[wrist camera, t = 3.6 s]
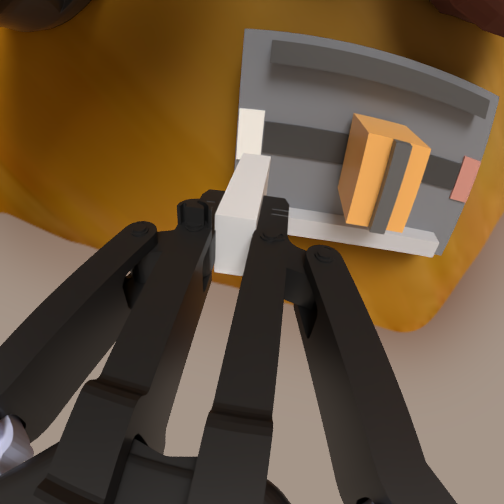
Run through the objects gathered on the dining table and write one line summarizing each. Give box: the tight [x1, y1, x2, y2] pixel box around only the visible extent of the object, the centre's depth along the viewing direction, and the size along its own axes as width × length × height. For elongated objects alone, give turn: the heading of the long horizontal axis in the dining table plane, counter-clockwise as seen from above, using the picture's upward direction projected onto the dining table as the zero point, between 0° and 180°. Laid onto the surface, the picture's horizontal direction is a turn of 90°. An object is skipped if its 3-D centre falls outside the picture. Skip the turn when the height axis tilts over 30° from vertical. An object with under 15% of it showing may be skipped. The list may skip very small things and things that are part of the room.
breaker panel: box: [234, 29, 499, 257], centre depth 22 cm, size 20×16×6 cm
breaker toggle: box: [338, 113, 431, 235], centre depth 19 cm, size 4×6×6 cm, turn 175°
